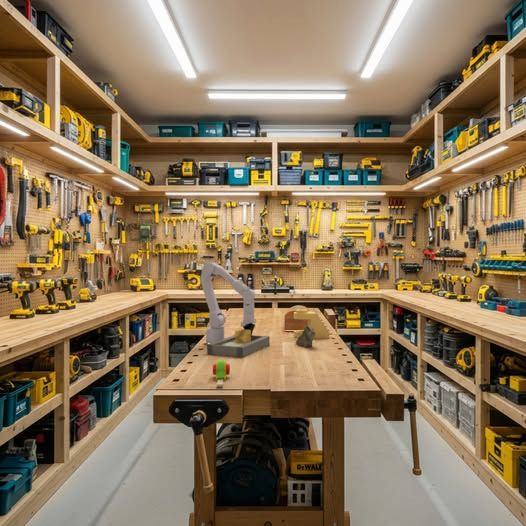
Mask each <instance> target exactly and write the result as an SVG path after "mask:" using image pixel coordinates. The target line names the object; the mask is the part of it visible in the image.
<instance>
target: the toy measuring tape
mask: <svg viewBox="0 0 526 526" xmlns="http://www.w3.org/2000/svg"><path fill="white" fill-rule="evenodd" d="M230 374H231V364H229V363H227V360H225V359H224V360H223V359H218V360H216V362H215V363H213V364H212V375H214V376H215V381H216V389H222V388H224V381H227V376H229V375H230Z"/></svg>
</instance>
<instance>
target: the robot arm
mask: <svg viewBox="0 0 526 526" xmlns="http://www.w3.org/2000/svg"><path fill="white" fill-rule="evenodd" d="M217 275H218V276H220V277H222V278H223V279H224V280H226V281H227V282H228V283H229V284H231V288H232V289H233V290H234V291H235V292H236V293H238V294H239V295H240V296H241V298H242V299H243V307H242V308H243V313H242V315H243V321H241V322H240V327H242V329H246V330H251V337H252V335H253V332H254V329H255V327H256V324H257V318H255V298H256V292H255V290H253V288H250V286H248V285H246V284H245V283H244V281H243V280H242V279H241V280H240V279H236V278H235V277H233V276H232V275H231V274H230V273H229V272H228V271H227V270H226V269H225V268H224V267H223V266H222V265H219V263H217V262H210V261H208V262H206V263H204V264H203V266H202V267H201V274H200V280H199V281H200V283H201V287H202V290H203V294H204V297H205V300H206V304H207V306H208V309H209V314H208V318H209V321H208V323H209V327H207V328H206V331H205V343H204V344H205V345H207V344H206V343H213V342H216V341H219V340H222V339H225V323H226V321H227V320H226V317H225V315H224V314H223V312H222V310H221V309H220V306H219V303H218V300H217V297H216V294H215V291H214V288H213V284H212V283H213V282H212V280H213V278H214V276H217ZM255 323H256V324H255Z"/></svg>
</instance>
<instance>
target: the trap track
mask: <svg viewBox="0 0 526 526" xmlns="http://www.w3.org/2000/svg"><path fill="white" fill-rule="evenodd" d="M268 345H269V346H270V336H268V335H257V334H256V335H253V334H252V337H251V342H248V343H246V344H245V343H235V334H234V335H231V336H228V337H224V339H222V340H219V341H216V342H213V343H210V344H206V350H207V351H206V354H207V353H212V354H211V355H213V354H219V355H218V356H223V355H228V356H227V357H232V356H236V357H235V358H241V357H243V358H245V357H247V356H249V355H251V354H253V353H255V351H256V352H257V350H258V351H260V350H262V349H264V348H266V347H269V346H268ZM265 346H266V347H265ZM263 347H264V348H263ZM261 348H262V349H261ZM259 349H260V350H259ZM250 353H251V354H250ZM248 354H249V355H248ZM246 355H247V356H246ZM244 356H245V357H244Z"/></svg>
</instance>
